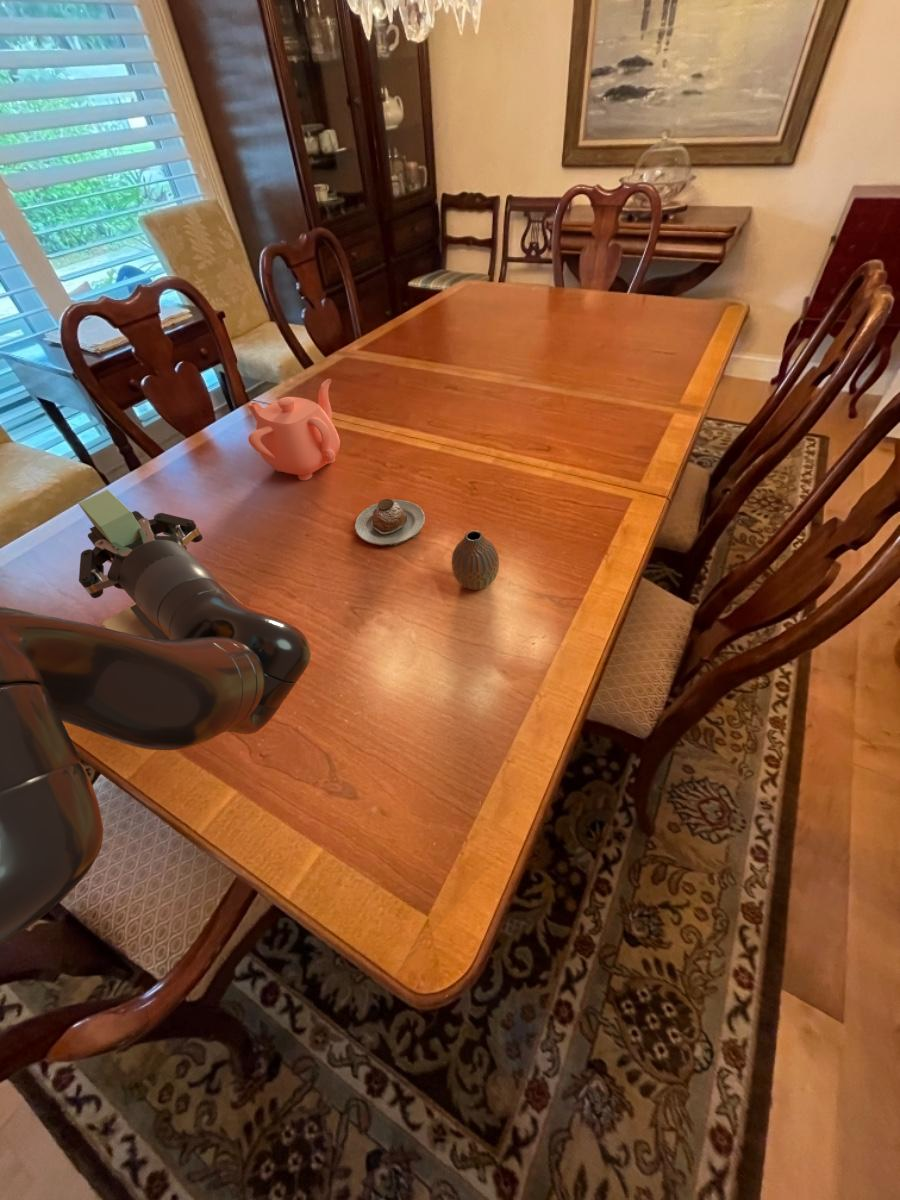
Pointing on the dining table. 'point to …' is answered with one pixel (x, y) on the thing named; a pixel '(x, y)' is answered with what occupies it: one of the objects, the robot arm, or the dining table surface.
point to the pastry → (390, 522)
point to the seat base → (136, 623)
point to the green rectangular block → (111, 518)
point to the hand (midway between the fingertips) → (113, 525)
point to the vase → (475, 561)
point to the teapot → (296, 434)
